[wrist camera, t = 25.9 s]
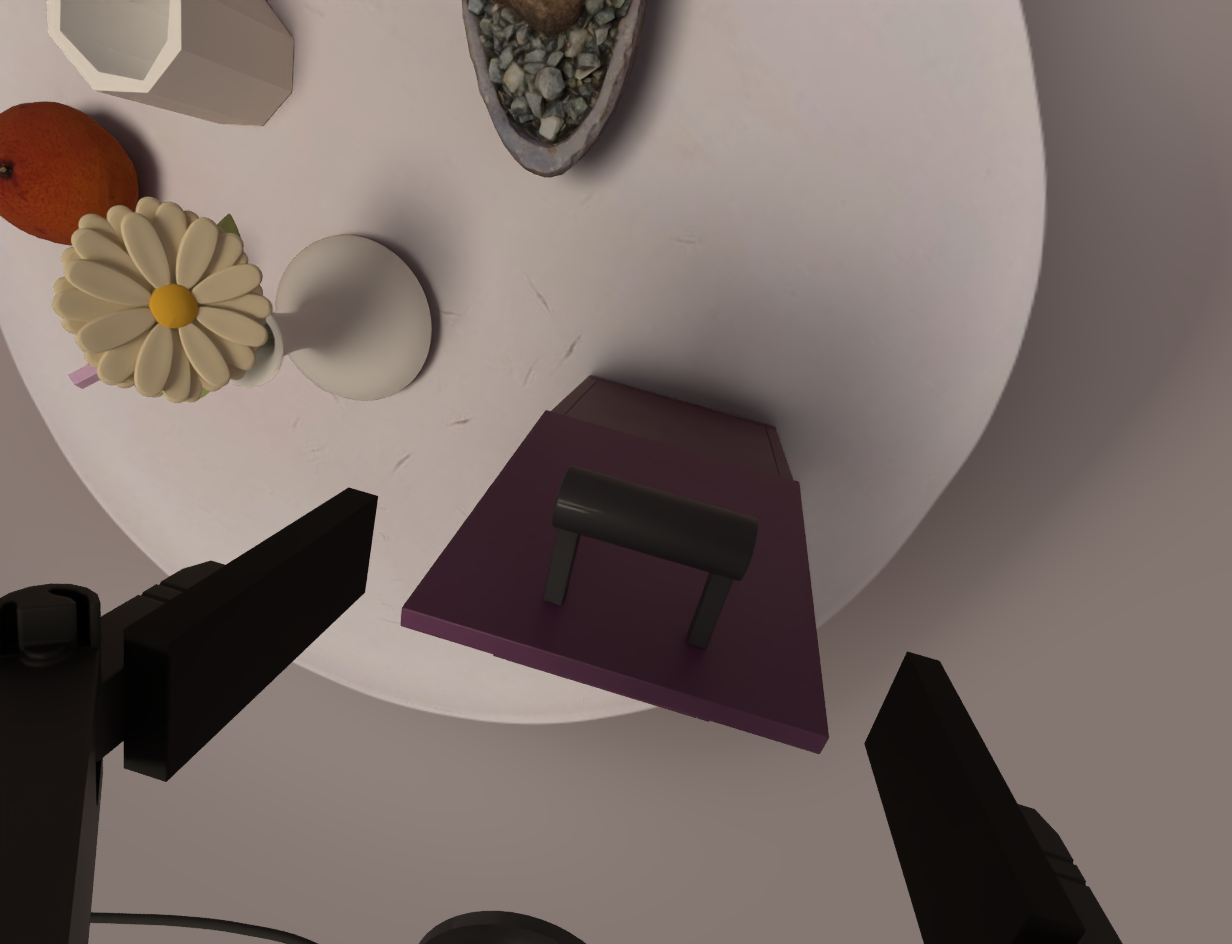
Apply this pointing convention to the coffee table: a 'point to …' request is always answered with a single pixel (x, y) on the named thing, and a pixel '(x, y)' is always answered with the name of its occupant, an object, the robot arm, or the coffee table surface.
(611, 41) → the planter
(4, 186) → the fruit
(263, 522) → the coffee table surface
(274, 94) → the mug
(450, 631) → the lid
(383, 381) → the flower in vase
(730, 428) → the chest
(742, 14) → the coffee table surface
